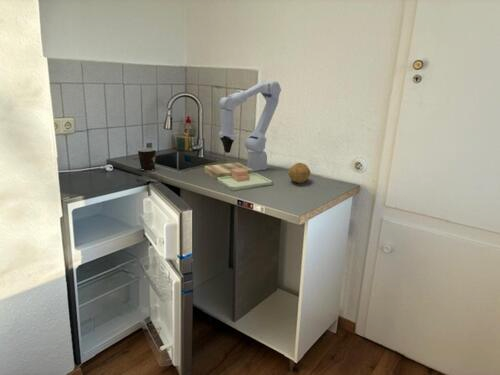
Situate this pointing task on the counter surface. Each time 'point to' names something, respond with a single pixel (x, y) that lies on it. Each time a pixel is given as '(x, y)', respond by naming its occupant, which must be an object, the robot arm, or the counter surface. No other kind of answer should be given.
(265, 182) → the tray
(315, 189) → the counter surface
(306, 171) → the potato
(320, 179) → the counter surface
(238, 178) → the tile front
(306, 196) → the counter surface
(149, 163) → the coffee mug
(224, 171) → the flat food package
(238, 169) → the tile rear
